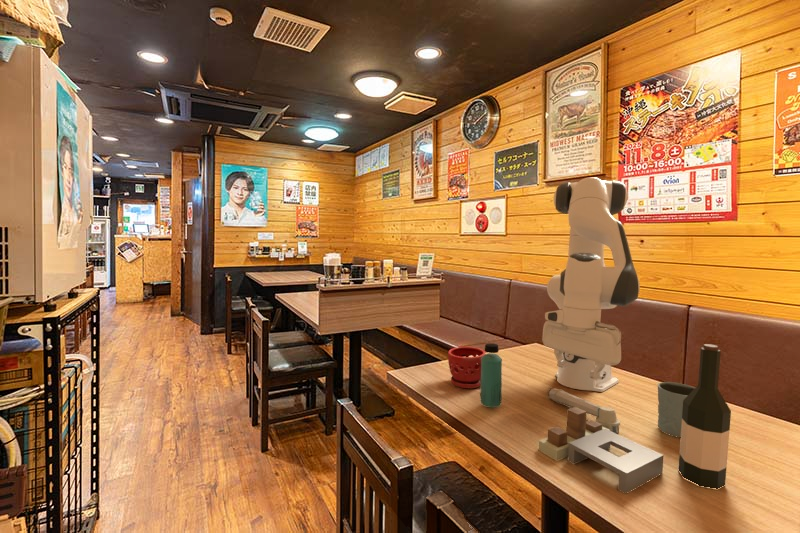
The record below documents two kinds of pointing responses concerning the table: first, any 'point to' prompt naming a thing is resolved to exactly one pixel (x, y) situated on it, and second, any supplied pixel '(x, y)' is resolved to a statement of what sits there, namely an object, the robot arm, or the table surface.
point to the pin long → (576, 423)
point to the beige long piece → (587, 408)
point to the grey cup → (671, 406)
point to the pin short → (593, 426)
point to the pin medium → (557, 436)
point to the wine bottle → (705, 426)
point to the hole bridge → (630, 466)
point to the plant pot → (465, 366)
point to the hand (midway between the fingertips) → (577, 372)
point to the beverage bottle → (491, 377)
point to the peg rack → (561, 451)
